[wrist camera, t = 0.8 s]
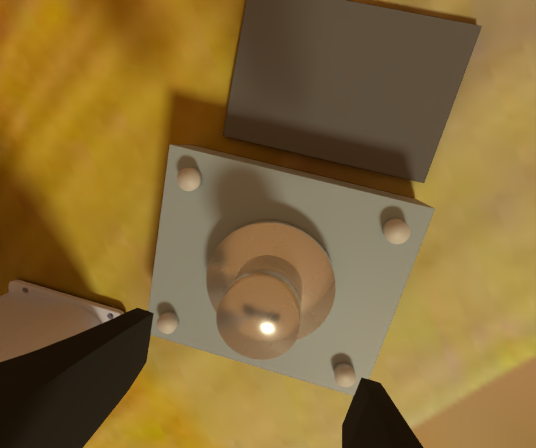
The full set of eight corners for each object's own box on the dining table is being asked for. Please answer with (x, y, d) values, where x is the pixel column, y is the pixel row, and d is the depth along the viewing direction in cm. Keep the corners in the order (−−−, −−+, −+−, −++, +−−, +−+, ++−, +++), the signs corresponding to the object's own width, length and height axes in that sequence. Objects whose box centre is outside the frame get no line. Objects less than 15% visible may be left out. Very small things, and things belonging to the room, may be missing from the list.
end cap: (213, 299, 20) (169, 366, 14) (233, 199, 19) (191, 225, 12) (315, 328, 20) (316, 411, 14) (346, 227, 18) (363, 271, 12)
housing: (167, 309, 22) (140, 338, 19) (191, 144, 19) (164, 144, 16) (355, 364, 21) (363, 406, 18) (415, 198, 18) (439, 211, 14)
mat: (224, 135, 19) (222, 135, 18) (251, -15, 16) (249, -18, 16) (421, 182, 18) (424, 183, 17) (477, 28, 15) (481, 26, 15)
